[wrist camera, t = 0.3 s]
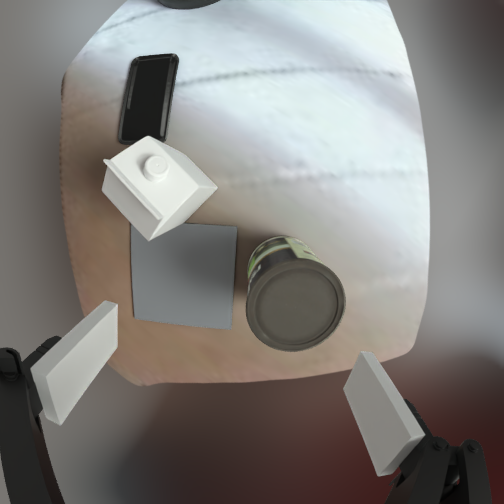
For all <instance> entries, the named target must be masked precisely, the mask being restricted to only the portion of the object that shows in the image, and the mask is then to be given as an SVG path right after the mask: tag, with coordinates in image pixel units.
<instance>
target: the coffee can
mask: <svg viewBox="0 0 504 504" xmlns="http://www.w3.org/2000/svg"><path fill="white" fill-rule="evenodd" d="M247 270H248V271H247V272H248V293H247V301H246V317H247V321H248V324H249V326H250V328H251V330H252V332H253V333H254V334H255V336H256V337H257V338H258V339H259V340H260V341H261V342H263V343H264V344H266V345H267V346H269V347H271V348H274V349H277V350H281V351H287V352H297V351H303V350H307V349H310V348H313V347H315V346H317V345H319V344H321V343H322V342H324V341H325V340H326V339H328V338H329V337H330V336H331V335H332V334H333V333H334V332H335V330H336V329H337V328H338V326H339V324H340V322H341V320H342V318H343V315H344V312H345V306H346V298H345V292H344V288H343V286H342V284H341V282H340V280H339V278H338V277H337V276H336V275H335V273H334V272H333V271H331V270H330V269H329V268H328V267H326V266H325V265H324V264H323V263H322V262H321V261H320V260H319V259H318V258H317V257H316V256H315V255H314V253H313V252H312V251H311V250H310V249H309V247H308V246H307V245H306V244H304V243H303V242H302V241H300V240H298V239H295V238H292V237H288V236H278V237H273V238H270V239H268V240H266V241H264V242H263V243H261V244H260V245H259V246H258V247H257V248H256V249H255V250H254V252H253V253H252V255H251V257H250V260H249V263H248V268H247Z"/></svg>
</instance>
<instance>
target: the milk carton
mask: <svg viewBox="0 0 504 504" xmlns="http://www.w3.org/2000/svg"><path fill="white" fill-rule="evenodd" d="M103 161H104V162H105V164H106V165H107V170H106V174H105V178H104V182H103V187H102V191H103V193H104V194H105V195H106V196H107V197H108V198H109V199H110V201H111V202H112V203H113V204H114V205H115V206H116V207H117V208H118V209H119V211H120V212H121V213H122V214H123V215H124V216H125V217H126V218H127V219H128V220H129V221H130V223H131V224H132V225H133V226H134V227H135V228H136V229H137V230H138V231H139V232H140V233H141V234H142V235H143V236H144V237H145V238H146V239H147V240H148V241H150V240H151V239H153V238H155V237H157V236H159V235H161V234H163V233H165V232H167V231H169V230H171V229H173V228H175V227H177V226H179V225H181V224H183V223H184V222H185V221H186V220H187V219H188V218H189V217H190V216H191V215H192V214H193V213H194V212H195V211H196V210H197V209H198V208H199V207H200V206H201V205H202V204H203V203H204V202H205V201H206V200H207V199H208V198H209V197H210V196H211V195H212V194H213V193H214V192H215V191H216V190H217V189H218V187H217V186H216V185H215V184H214V183H213V182H212V181H211V180H210V179H209V178H208V177H207V176H206V175H205V174H204V173H203V172H202V171H201V170H200V169H199V168H198V167H197V166H196V165H195V164H194V163H193V162H192V161H191V160H190V159H189V158H188V157H187V156H186V155H185V154H183V153H182V152H180V151H178V150H176V149H174V148H172V147H170V146H168V145H166V144H164V143H162V142H160V141H158V140H156V139H154V138H152V137H150V136H146V137H144V138H143V139H141V140H139V141H138V142H136V143H135V144H133V145H132V146H130V147H128V148H127V149H125V150H124V151H122V152H121V153H119V154H118V155H116V156H115V157H113V158H112V159H110V160H107V159H104V160H103Z"/></svg>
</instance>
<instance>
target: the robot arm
mask: <svg viewBox="0 0 504 504" xmlns="http://www.w3.org/2000/svg"><path fill="white" fill-rule="evenodd" d="M158 1H159V2H160V3H161V4H163V5H165V6H167V7H170V8H175V9H193V8H199V7H203V6H207V5H210V4H213V3H215V2H218V1H220V0H158ZM117 310H118V304H116V303H113V302H109V301H106V300H105V301H104V302H103V303H101V304H100V305H99V306H98V307H97V308H96V309H94V310H93V311H92V312H91V313H90V314H89V315H88V316H86V317H85V318H84V319H83V320H82V321H81V322H80V323H79V324H77V325H76V326H75V327H74V328H73V329H72V330H71V331H70V332H69V333H67V334H66V335H65V336H64V337H63V338H61V337H59V336H54V337H52V338H49V339H47V340H46V341H45V342H44V343H43V344H41V346H39V347H38V348H37V349H36V351H34V352H33V353H31V354H30V355H29V356H28V357H27V358H26V359H25V360H24V361H23V362H22V361H21V357H20V354H19V353H18V352H17V351H16V350H14V349H12V348H0V453H1V461H2V466H3V472H4V477H5V482H6V487H7V491H8V495H9V498H10V502H11V504H65V502H64V500H63V497H62V494H61V492H60V489H59V486H58V483H57V480H56V478H55V475H54V472H53V468H52V465H51V461H50V458H49V454H48V451H47V447H46V443H45V439H44V434H43V430H42V425H41V420H40V417H39V413H40V412H41V411H42V409H43V411H44V413H45V416H46V418H47V419H49V420H51V421H53V422H55V423H56V424H58V425H61V424H62V423H63V422H64V420H65V419H66V417H67V416H68V414H69V413H70V411H71V410H72V408H73V407H74V406H75V404H76V403H77V401H78V400H79V399H80V397H81V396H82V394H83V393H84V392H85V390H86V389H87V387H88V386H89V385H90V383H91V382H92V381H93V379H94V378H95V376H96V375H97V373H98V372H99V371H100V370H101V368H102V367H103V366H104V364H105V363H106V362H107V360H108V359H109V358H110V356H111V355H112V354H113V352H114V351H115V350H116V348H117ZM343 390H344V392H345V395H346V397H347V399H348V402H349V404H350V407H351V409H352V412H353V414H354V417H355V419H356V422H357V424H358V427H359V429H360V431H361V434H362V436H363V439H364V442H365V444H366V446H367V449H368V452H369V454H370V457H371V459H372V462H373V465H374V467H375V470H376V472H377V475H378V476H383V475H389V474H392V473H393V472H394V471H395V470H396V469H397V468H398V467H400V469H401V472H400V473H399V474H398V476H396V477H395V478H394V479H393V480H392V482H391V483H390V484H389V485H392V484H393V483H394V485H393V487H392V489H391V491H390V493H389V496H388V497H387V499H386V501H385V504H492V500H491V492H490V485H489V479H488V473H487V468H486V463H485V458H484V453H483V449H482V447H481V445H480V444H479V442H477V441H476V440H473V439H467V440H465V441H464V442H463V443H462V444H461V446H459V447H458V446H450V444H449V443H448V442H447V441H446V440H445V439H443V438H442V437H438V436H436V437H433V435H432V433H431V432H430V430H429V429H428V427H427V426H426V424H425V422H424V421H423V419H421V416H420V415H419V413H417V410H416V408H415V407H414V406H413V404H412V403H410V402H409V401H408V400H407V399H403V398H402V397H401V395H400V394H399V392H398V390H397V389H396V387H395V386H394V384H393V383H392V381H391V380H390V378H389V376H388V375H387V373H386V372H385V371H384V369H383V367H382V366H381V364H380V363H379V361H378V360H377V358H376V357H375V355H374V354H373V352H365V351H361V352H360V354H359V356H358V359H357V361H356V363H355V365H354V367H353V370H352V372H351V374H350V376H349V378H348V380H347V382H346V384H345V386H344V389H343ZM459 478H460V482H459V484H458V485H457V480H458V479H459Z"/></svg>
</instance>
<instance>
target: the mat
mask: <svg viewBox="0 0 504 504" xmlns="http://www.w3.org/2000/svg"><path fill="white" fill-rule="evenodd" d="M236 240H237V226H224V225H208V224H192V223H183V224H181V225H179V226H177V227H175V228H173V229H171V230H169V231H167V232H165V233H163V234H161V235H159V236H157V237H155V238H153V239H151V240H150V241H148V240H147V239H146V238H145V237H144V236H143V235H142V234H141V233H140V232H139V231H138V230H137V229H136V228H135V227H134V226H133V225H132V224H131V266H132V288H133V303H134V315H135V319H140V320H147V321H155V322H162V323H170V324H178V325H187V326H197V327H207V328H218V329H230V330H231V325H232V306H233V289H234V272H235V256H236Z"/></svg>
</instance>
